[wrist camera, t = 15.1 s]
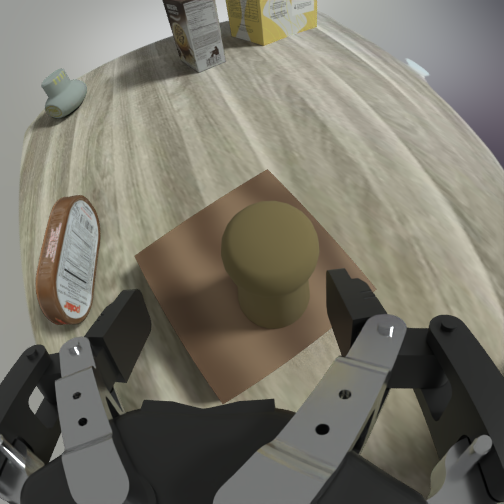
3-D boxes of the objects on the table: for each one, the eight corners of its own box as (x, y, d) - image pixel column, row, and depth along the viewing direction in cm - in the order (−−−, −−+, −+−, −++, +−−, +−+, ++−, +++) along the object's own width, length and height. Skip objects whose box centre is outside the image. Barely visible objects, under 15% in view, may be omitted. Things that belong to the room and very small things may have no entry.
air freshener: (96, 94, 48) (78, 60, 38) (73, 120, 45) (51, 86, 36) (69, 97, 50) (52, 68, 41) (48, 121, 47) (28, 92, 38)
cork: (225, 309, 23) (183, 263, 13) (257, 248, 25) (241, 169, 15) (291, 341, 22) (302, 318, 12) (320, 275, 24) (347, 207, 14)
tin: (90, 218, 34) (55, 183, 26) (108, 214, 34) (74, 177, 26) (76, 330, 28) (27, 314, 20) (96, 331, 28) (46, 315, 20)
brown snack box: (179, 61, 48) (160, -2, 33) (206, 49, 49) (191, -12, 34) (198, 73, 45) (179, 1, 30) (227, 61, 46) (214, -10, 31)
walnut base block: (269, 191, 32) (267, 169, 29) (364, 300, 27) (376, 289, 23) (150, 269, 30) (134, 256, 26) (231, 399, 24) (222, 404, 20)
